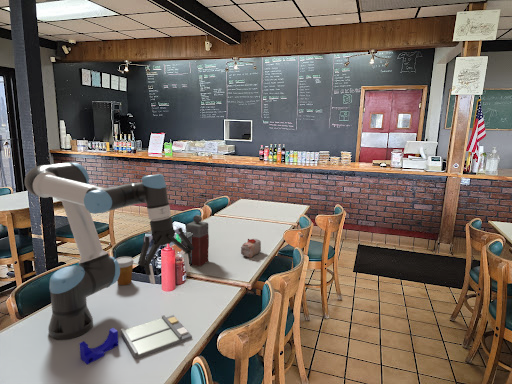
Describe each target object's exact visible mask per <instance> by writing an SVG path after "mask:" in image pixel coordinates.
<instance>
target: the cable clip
mask: <svg viewBox="0 0 512 384" xmlns="http://www.w3.org/2000/svg"><path fill="white" fill-rule="evenodd" d="M108 331H109V332H108V336H106V339H105V340H104V341H103V342H102V343H101V344H100V345H98V346H96V347H92V348H91V347H89V344H88V343H86V341H81V342H79V345H78V346H79V355H80V360H81V361H82V362H83V363H84V364H86V365H90V364H91V363H93V362H95V361H97V360H99V359H101V358H103V357H104V356H105V353H107V352H108V351H110V350H112V349H114V348H116V347H118V346H119V332H118V330H117V329H116V328H115V327H112V328H110V329H109V330H108Z"/></svg>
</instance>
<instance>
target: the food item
mask: <svg viewBox="0 0 512 384" xmlns="http://www.w3.org/2000/svg"><path fill="white" fill-rule="evenodd" d="M261 244H262V242H261V240H260V239H258V238H251V239H250V238H247V242H246V241H245V242H244V243H243V244H242V245H241V247H240V255H242V256H243V257H246V258H249V259H252V258H253V257H254V256H255V255H257V254H259V253H261V251H262V250H261V249H262V245H261Z"/></svg>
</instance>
